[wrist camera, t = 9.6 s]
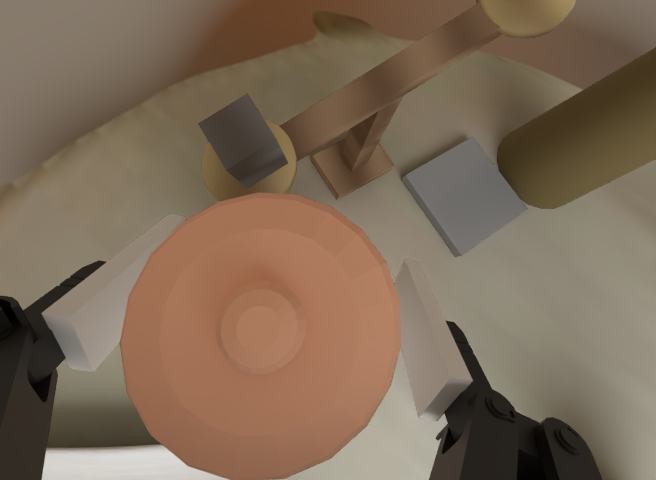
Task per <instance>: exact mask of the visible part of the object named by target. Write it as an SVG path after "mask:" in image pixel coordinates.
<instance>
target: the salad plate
mask: <svg viewBox="0 0 656 480" xmlns="http://www.w3.org/2000/svg"><path fill="white" fill-rule="evenodd" d="M42 480H229V479H226V478H223V477H219V476H216V475H213V474H210V473H207V472H204V471H201V470H198V469H195V468H191V467H188V466H187V465H186V464H185V463H183V462H182V461H181V460H180V459H179V458H177V457H176V456H175V455H174V454H173V453H171V452H170V451H169V450H168V449H167V448H165V447H164V446H163V445H162V444H155V445H139V446H123V447H92V448H46V454H45V461H44V467H43V474H42Z"/></svg>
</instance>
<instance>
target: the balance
mask: <svg viewBox="0 0 656 480" xmlns="http://www.w3.org/2000/svg"><path fill="white" fill-rule="evenodd" d="M476 2H477V5H475V6H474V7H472V8H470V9H469V10H467V11H466V12H464V13H462V14H461V15H459V16H457V17H456V18H454V19H453V20H451V21H449V22H448V23H446V24H444V25H443V26H442V27H440V28H438V29H437V30H435V31H433V32H432V33H430V34H428V35H427V36H425V37H423V38H422V39H420V40H419V41H417V42H415V43H414V44H412V45H410V46H409V47H407V48H406V49H404V50H402V51H401V52H399V53H398V54H396V55H394V56H393V57H391V58H389V59H388V60H386V61H385V62H383V63H381V64H380V65H378V66H377V67H375V68H373V69H372V70H370V71H368V72H367V73H365V74H364V75H362V76H360V77H359V78H357V79H355V80H354V81H352V82H351V83H349V84H347V85H346V86H344V87H343V88H341V89H339V90H338V91H336V92H334V93H333V94H331V95H330V96H328V97H326V98H325V99H323V100H321V101H320V102H318V103H317V104H315V105H313V106H312V107H310V108H309V109H307V110H305V111H304V112H302V113H300V114H299V115H297V116H296V117H294V118H292V119H291V120H289V121H287V122H286V123H284V124H283V125H281V126H278V125H276V124H275V123H273V122H271V121H269V120H266V119H263V117H262V116H261V114H260V113H259V111H258V109H257V108H256V106H255V105H254V103H253V102H252V100H251V99H250V97H249V95H248V94H246V95H244V96H243V97H241V98H239V99H238V100H236V101H235V102H233V103H231V104H230V105H228V106H226V107H225V108H223V109H221V110H220V111H218V112H217V113H215V114H213V115H212V116H210V117H208V118H207V119H205V120H204V121H202V122H200V123H199V126H200V128H201V129H202V131H203V133H204V134H205V136H206V138H207V139H208V143H207V145H206V147H205V149H204V152H203V156H202V174H203V178H204V181H205V183H206V185H207V187H208V189H209V190H210V192H211V193H212V194H213V195H214V196H215V197H216V198H217V199H218V200H220V201H224V200H228V199H233V198H237V197H241V196H246V195H250V194H254V193H276V194H286V193H287V191H288V190H289V189H290V187H291V185H292V183H293V181H294V178H295V175H296V170H297V161H299V160H301V159H302V158H304V157H305V156H307V155H309V154H310V153H312V152H313V151H315V150H317V149H318V148H320V147H321V146H323V145H325V144H326V143H328V142H329V141H331V140H333V139H334V138H336V137H337V136H339V135H341V134H342V133H344V132H346V131H347V130H349V129H350V130H349V133H348V136H347V138H346V139H344V140H342V141H340V142H338V143H336V144H334V145H332V146H330V147H328V148H326V149H324V150H322V151H320V152H318V153H316V154H314V155H312V163H313V164H314V166H315V167H316V169H317V170H318V172H319V173H320V175H321V176H322V178H323V179H324V181H325V183H326V184H327V186H328V187H329V189H330V190H331V192H332V193H333V195H334V196H335V198H336V199H337V200H338V199H340V198H341V197H343V196H345V195H347V194H349V193H350V192H352V191H354V190H356V189H358V188H359V187H361V186H363V185H365V184H367V183H368V182H370V181H372V180H374V179H376V178H377V177H379V176H381V175H383V174H385V173H386V172H388V171H390V170H391V168H392V167H393V166H394V164H393V163H392V161H391V160H390V158H389V157H388V156H387V154H386V153H385V151H384V150H383V149H382V147H381V146H380V144H379V143H378V142H379V141H380V139H381V137H382V135H383V133H384V131H385V129H386V127H387V126H388V124H389V122H390V120H391V118H392V116H393V114H394V112H395V111H396V109H397V107H398V105H399V103H400V101H401V99H402V97H403V96H404V95H405V94H407V93H408V92H410V91H411V90H413V89H415V88H416V87H418V86H420V85H421V84H423V83H424V82H426V81H428V80H429V79H431V78H432V77H434V76H436V75H437V74H439V73H440V72H442V71H444V70H445V69H447V68H448V67H450V66H452V65H453V64H455V63H457V62H458V61H460V60H461V59H463V58H465V57H466V56H468V55H469V54H471V53H473V52H474V51H476V50H477V49H479V48H481V47H482V46H484V45H485V44H487V43H489V42H490V41H492V40H493V39H495V38H497V37H498V36H500V35H501V34H504V35H507V36H510V37H515V38H533V37H538V36H541V35H544V34H546V33H548V32H550V31H552V30H553V29H554V28H556V27H557V26H558V25H559V24H560V23H561V22H562V20H564V18H565V17H566V16H567V15H568V14H569V13H570V11H571V10H572V8H573V7H574V5H575V2H576V0H476Z"/></svg>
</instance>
